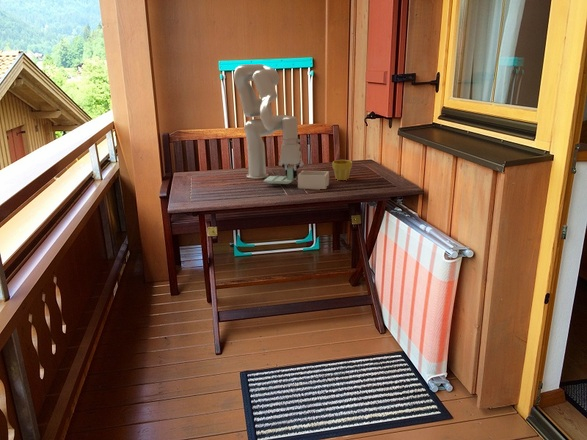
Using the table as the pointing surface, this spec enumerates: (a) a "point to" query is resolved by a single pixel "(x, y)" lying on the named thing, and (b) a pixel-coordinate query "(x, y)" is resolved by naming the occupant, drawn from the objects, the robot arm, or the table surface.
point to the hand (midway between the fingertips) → (291, 177)
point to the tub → (313, 179)
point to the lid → (282, 177)
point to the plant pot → (342, 169)
